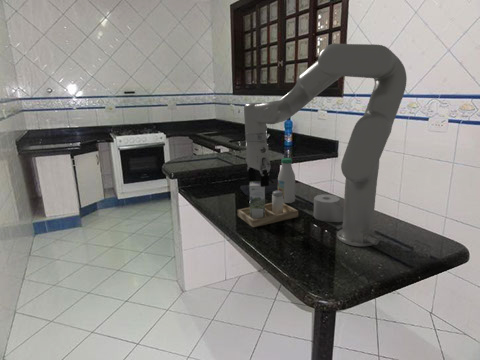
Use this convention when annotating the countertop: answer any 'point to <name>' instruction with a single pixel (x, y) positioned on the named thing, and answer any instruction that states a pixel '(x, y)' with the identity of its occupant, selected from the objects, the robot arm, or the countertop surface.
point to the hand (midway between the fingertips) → (258, 183)
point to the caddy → (267, 215)
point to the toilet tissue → (328, 208)
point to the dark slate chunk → (268, 189)
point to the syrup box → (257, 200)
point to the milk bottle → (287, 181)
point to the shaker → (277, 202)
